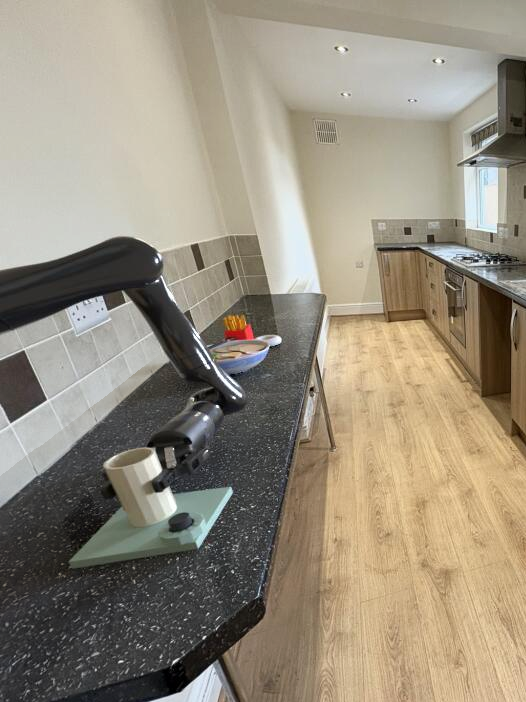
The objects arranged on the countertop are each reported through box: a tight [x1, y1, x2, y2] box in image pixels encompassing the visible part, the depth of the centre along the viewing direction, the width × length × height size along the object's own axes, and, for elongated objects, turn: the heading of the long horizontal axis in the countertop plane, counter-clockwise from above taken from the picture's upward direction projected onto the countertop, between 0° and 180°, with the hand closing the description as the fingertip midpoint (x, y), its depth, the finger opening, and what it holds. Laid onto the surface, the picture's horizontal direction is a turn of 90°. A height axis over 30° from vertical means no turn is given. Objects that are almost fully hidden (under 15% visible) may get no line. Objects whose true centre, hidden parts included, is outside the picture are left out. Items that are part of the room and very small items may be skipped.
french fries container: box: [221, 314, 255, 341], centre depth 145 cm, size 7×9×14 cm
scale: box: [68, 486, 234, 570], centre depth 66 cm, size 16×14×3 cm
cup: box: [102, 446, 177, 527], centre depth 65 cm, size 6×6×11 cm
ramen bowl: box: [206, 336, 270, 376], centre depth 131 cm, size 25×23×8 cm
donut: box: [254, 334, 283, 346], centre depth 157 cm, size 10×3×10 cm
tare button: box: [168, 512, 193, 533], centre depth 63 cm, size 3×3×2 cm
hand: (131, 491), depth 63 cm, fingers closed on cup, 6 cm apart
